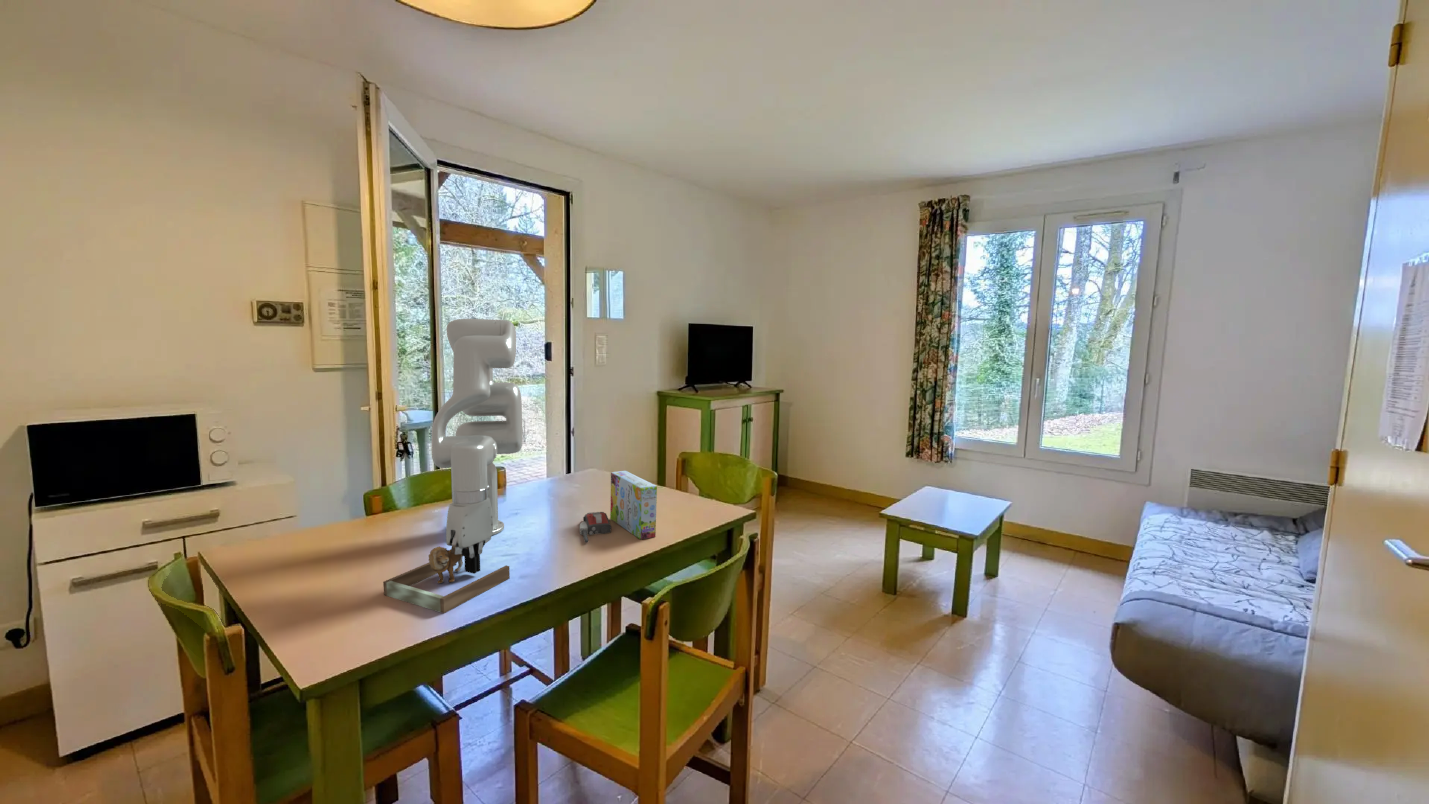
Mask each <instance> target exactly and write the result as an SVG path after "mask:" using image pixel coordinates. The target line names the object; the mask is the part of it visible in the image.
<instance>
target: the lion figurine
mask: <svg viewBox="0 0 1429 804" xmlns="http://www.w3.org/2000/svg"><path fill="white" fill-rule="evenodd" d="M463 557H464V556H462V554H457V555H455V554H451V548H450V549H449V550H448V549H447V548H446V547H444V546H437V547H434V548H432V550H430V552H429V554H428V561H429V562H428V563H430V566H431V568H432V569H433V571H435V572H437V576H438V577H439V580H437V584H442V583H444V574H443V573H444V572H446V571H447V572H448V582H449V583H454V582H455V579H456V578H455V575H454V572H455V573H456V572H460V571H461V569H462V566H463V564H464V562H463ZM457 563H458V565H457ZM454 564H456V565H457V568H454V566H453V565H454Z"/></svg>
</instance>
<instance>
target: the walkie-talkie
mask: <svg viewBox="0 0 1429 804" xmlns="http://www.w3.org/2000/svg"><path fill="white" fill-rule="evenodd" d="M582 518H583V519H582V520H583V521H582V522H581V523H579V535H580V536H583V537H582V538H583V540H584V542H585V543H588V542H589V539H588V538H589V537H588V535H589V536H591V535H600V534H604V535H605V534H610V533H611V532H612V531H611V530H612V525H611V522H610V520H609V517H608V515H607V513H606V512H604V511H596V512H595V511H594V512H587V513H586V514H585V515H584V516H583V517H582Z"/></svg>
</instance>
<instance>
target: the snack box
mask: <svg viewBox="0 0 1429 804" xmlns="http://www.w3.org/2000/svg"><path fill="white" fill-rule="evenodd" d="M657 496H658V486H657V485H656V484H654V483H652V482H650V481H647V480H646V479H643V478H641V477H639V476H637V475H635V474H633V473H631V472H629V471H628V470H619V471H613V472H612V471H611V472H610V506H609V507H610V515H609V516H610V517H609V518H610V520H612V521H613V522H614V523H616V524H618V525H619V526H621V527H622V528H623V529H624V530H626V531H627V532H629V533H630V534H632V535H633V536H634V537H636V538H637V539H638V540H646V539H651V538H656V533H657V531H656V529H657V503H658V502H657V499H658V497H657Z"/></svg>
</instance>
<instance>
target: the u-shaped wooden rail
mask: <svg viewBox="0 0 1429 804" xmlns="http://www.w3.org/2000/svg"><path fill="white" fill-rule="evenodd" d="M455 566H457V563H456V564H454V565H453V567H455ZM510 572H511V571H510V565H504V566H502V567H500V568H497V569H496V570H493V571H491V572H490V573H488V574H486V575H484V576H482V577H480V578H478V579H476V580H474V581H472V582H469V583H468V584H466V585H464V586H462V587H460V588H458V589H456V590H454V591H452V592H450V593H448V594H446V595H442V594H437V593H434V592H431V591H428V590H424V589H421V588H417V587H413V586H412V585H415V584H417V583H419V582H421V581H423V580H426V579H428V578H430V577H433V576H434V575H438V573H437V572H435V571H433V569H432V568H431V566H430V563H429V562H427V563H424V564H422V565H419V566H417V567H415V568H413V569H410V570H408V571H406V572H402V573H400V574H399V575H396V576H393V577H392V578H389V579H386V580H384V581H383V596H386V597H390V598H393V599H395V600H400V601H402V602H404V603H410V604H413V605H416V606H419V607H422V608H424V609H425V608H426V609H429V610H432V611H435V612H437V613H442V614H446V613H448V612H450V611H451V610H453V609H455V608H457V607H459V606H460V605H463V604H464V603H466V602H468V601H470V600H472V599H474V598H476V597H477V596H480V595H481V594H483V593H485V592H488V591H489V590H491V589H493V588H494V587H496V586H498V585H501V583H505V582H506V581H508V580H510Z"/></svg>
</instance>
